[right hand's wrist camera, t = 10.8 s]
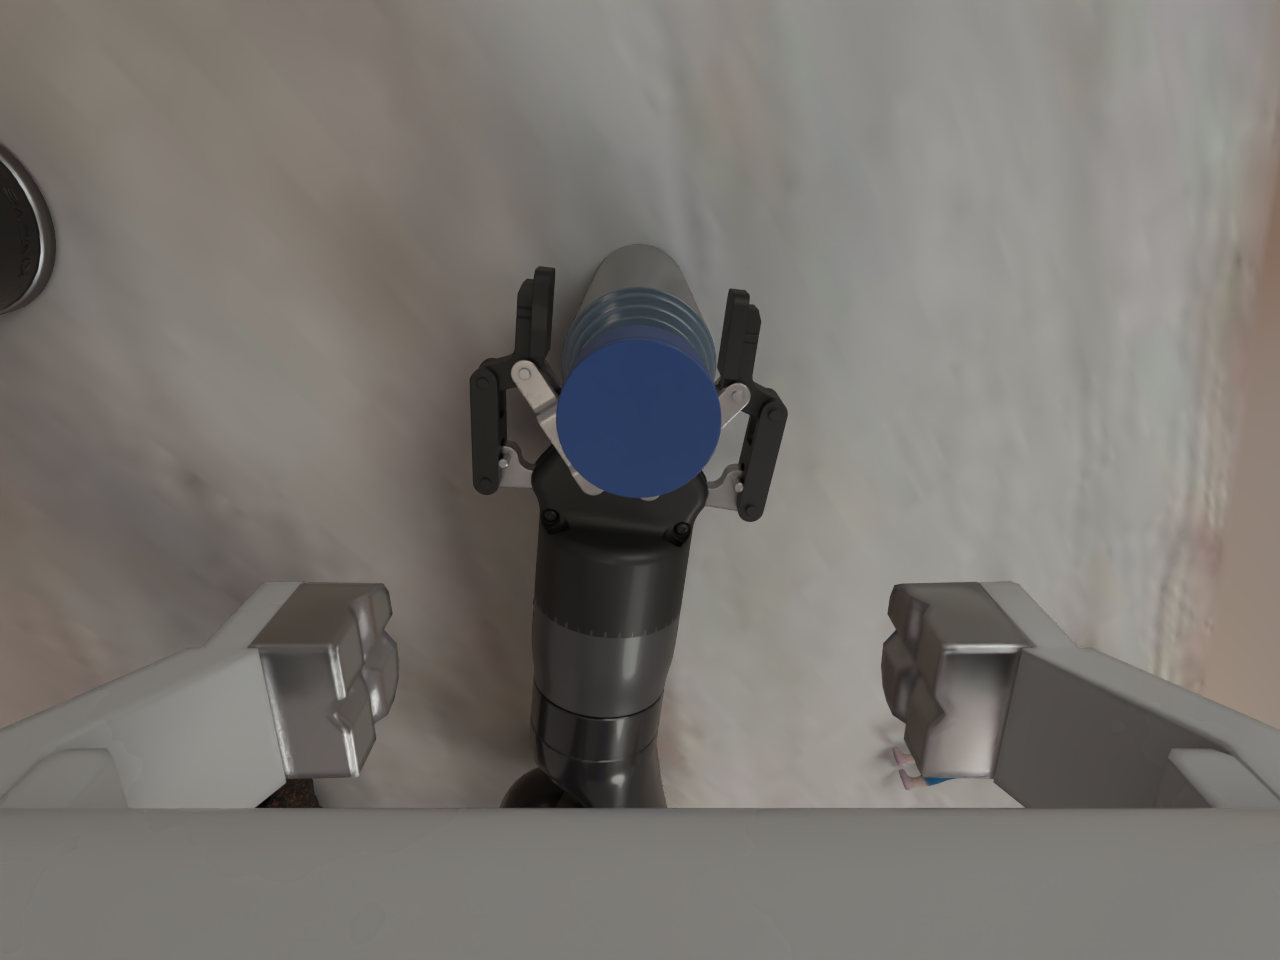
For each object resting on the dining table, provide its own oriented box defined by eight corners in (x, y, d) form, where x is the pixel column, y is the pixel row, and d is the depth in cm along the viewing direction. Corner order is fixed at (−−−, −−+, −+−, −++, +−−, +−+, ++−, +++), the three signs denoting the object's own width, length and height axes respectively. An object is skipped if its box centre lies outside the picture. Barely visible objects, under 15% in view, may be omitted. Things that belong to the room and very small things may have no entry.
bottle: (621, 225, 39) (601, 278, 18) (704, 276, 40) (776, 383, 19) (574, 310, 40) (505, 450, 20) (655, 357, 41) (671, 539, 20)
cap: (611, 295, 20) (608, 307, 18) (743, 374, 20) (754, 393, 19) (536, 425, 21) (526, 449, 19) (663, 495, 22) (666, 525, 20)
